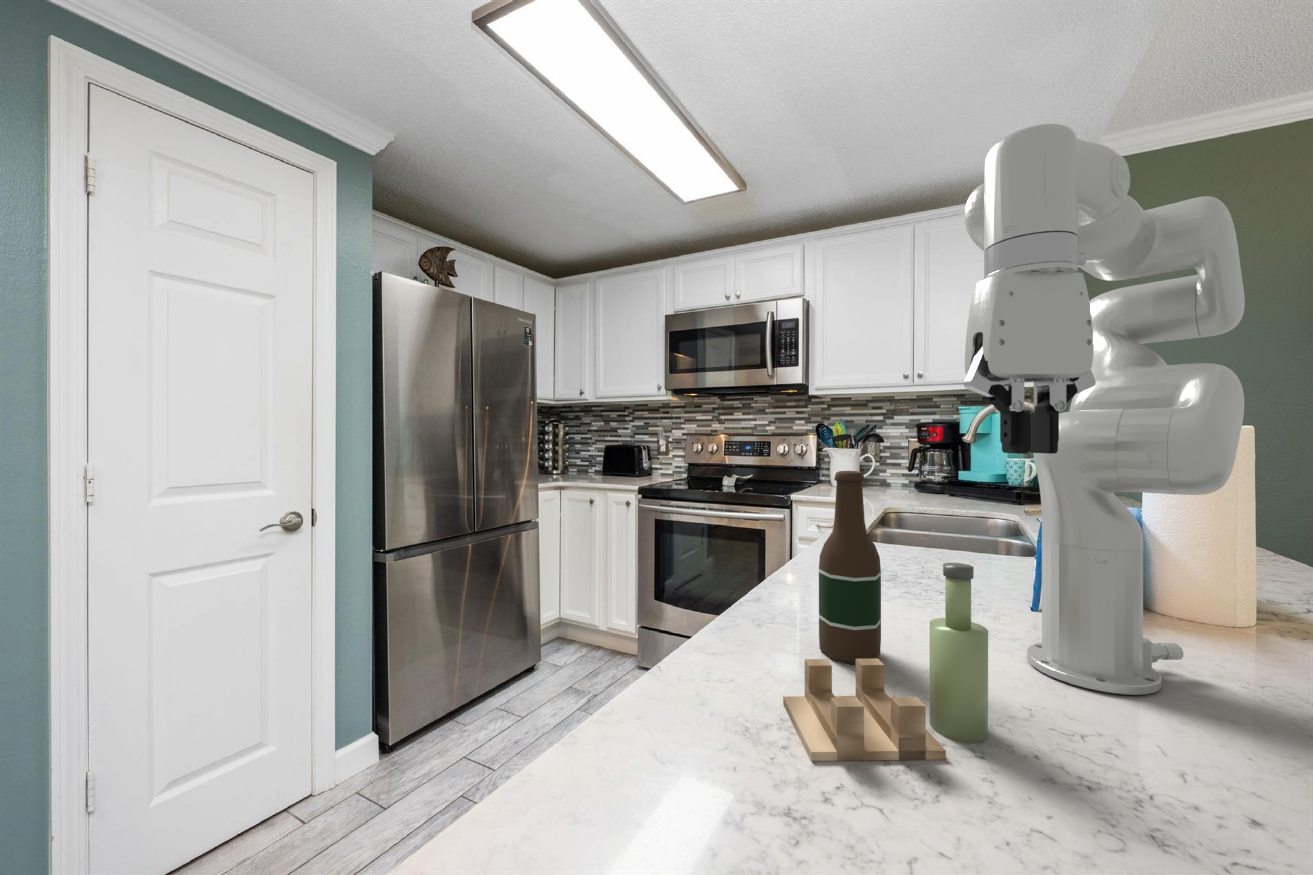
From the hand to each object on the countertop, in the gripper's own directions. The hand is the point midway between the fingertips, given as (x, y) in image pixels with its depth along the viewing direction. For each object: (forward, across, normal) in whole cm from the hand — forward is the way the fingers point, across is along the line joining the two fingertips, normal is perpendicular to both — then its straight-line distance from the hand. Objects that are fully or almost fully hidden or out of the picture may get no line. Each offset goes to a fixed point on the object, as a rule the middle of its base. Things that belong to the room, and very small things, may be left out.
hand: (1029, 451), depth 52 cm
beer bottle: (+27, +11, -18) cm, 35 cm away
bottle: (+27, +7, 0) cm, 28 cm away
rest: (+27, +17, 0) cm, 32 cm away
